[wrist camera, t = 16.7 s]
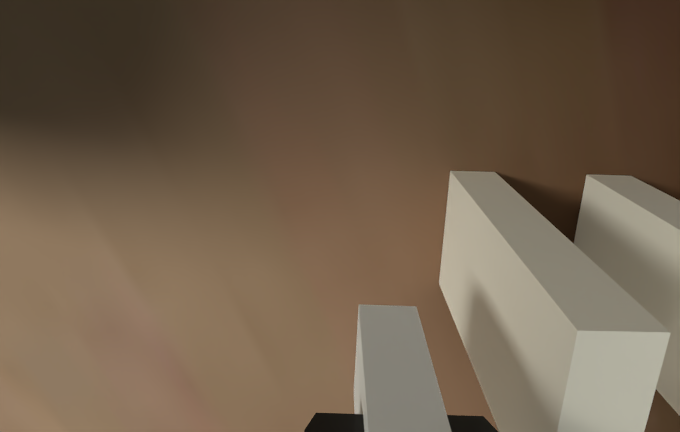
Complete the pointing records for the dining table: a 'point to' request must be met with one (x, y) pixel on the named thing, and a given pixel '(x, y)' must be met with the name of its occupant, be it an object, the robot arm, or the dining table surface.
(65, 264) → the dining table surface
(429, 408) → the robot arm
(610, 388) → the domino
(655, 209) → the domino
